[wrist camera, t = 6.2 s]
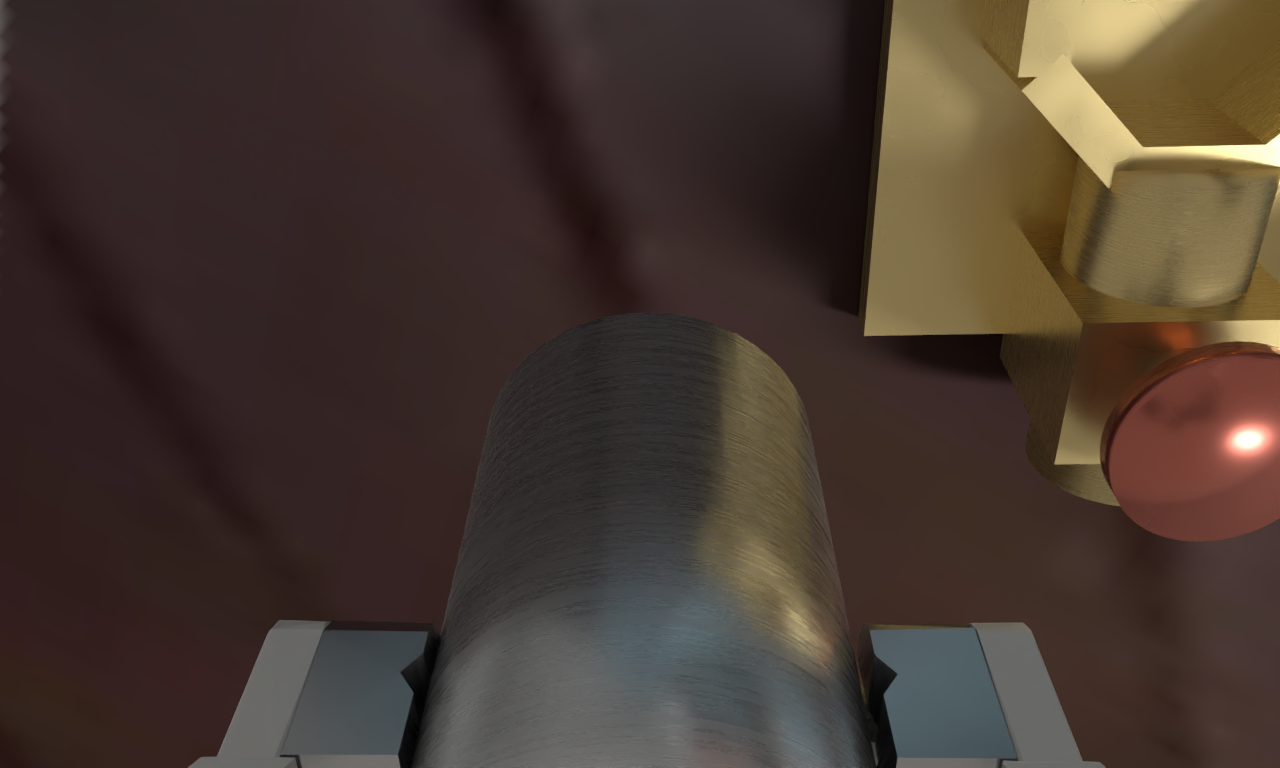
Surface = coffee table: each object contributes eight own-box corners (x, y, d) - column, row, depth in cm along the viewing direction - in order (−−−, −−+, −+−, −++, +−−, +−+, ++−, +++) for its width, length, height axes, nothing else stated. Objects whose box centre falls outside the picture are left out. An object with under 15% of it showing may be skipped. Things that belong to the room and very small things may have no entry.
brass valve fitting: (915, -365, 22) (1028, -387, 15) (1545, -385, 22) (1941, -417, 15) (851, 397, 31) (903, 591, 24) (1294, 390, 31) (1470, 585, 24)
